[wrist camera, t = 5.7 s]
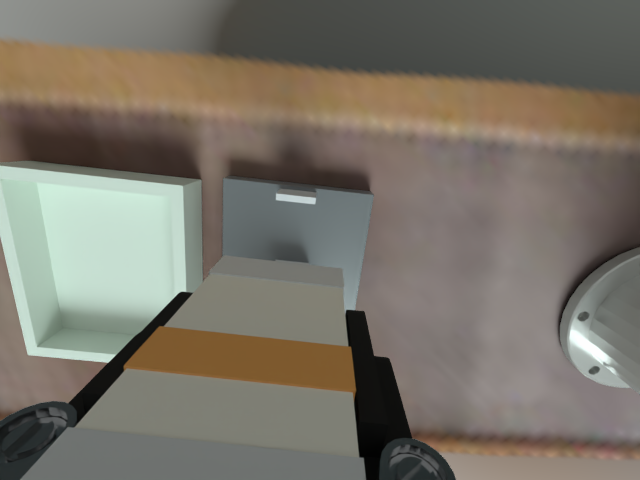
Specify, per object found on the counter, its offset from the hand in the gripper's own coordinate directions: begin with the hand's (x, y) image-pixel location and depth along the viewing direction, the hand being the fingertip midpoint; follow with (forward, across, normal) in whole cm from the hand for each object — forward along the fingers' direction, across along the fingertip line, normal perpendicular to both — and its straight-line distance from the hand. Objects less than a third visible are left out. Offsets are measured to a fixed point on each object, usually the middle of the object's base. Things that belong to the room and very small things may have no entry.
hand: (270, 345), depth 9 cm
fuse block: (+14, 0, +4) cm, 15 cm away
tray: (+14, +14, +4) cm, 20 cm away
